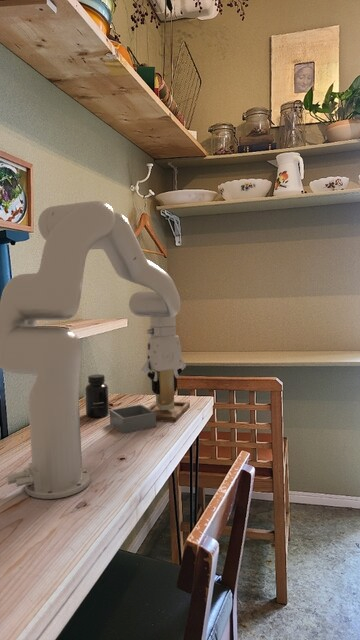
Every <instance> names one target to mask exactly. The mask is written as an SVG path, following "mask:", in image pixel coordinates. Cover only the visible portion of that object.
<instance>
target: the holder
mask: <svg viewBox="0 0 360 640" xmlns="http://www.w3.org/2000/svg"><path fill="white" fill-rule="evenodd" d="M140 414H141V415H140ZM109 421H110V422H109V424H110V425H111V426H112V425H113V426H112V427H114V429H116V428H117V429H116V430H117V431H118V432H120V431H121V432H120V433H122V434H129V433H133V432H138V431H142V430H143V431H144V430H148V429H153V428H156V427H157V421H156V413H155V412H154V411H152V410H150V409H148V407H146V406H144V405H143V404H135V405H129V406H125V407H119V408H118V407H117V408H113V409H109Z"/></svg>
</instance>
